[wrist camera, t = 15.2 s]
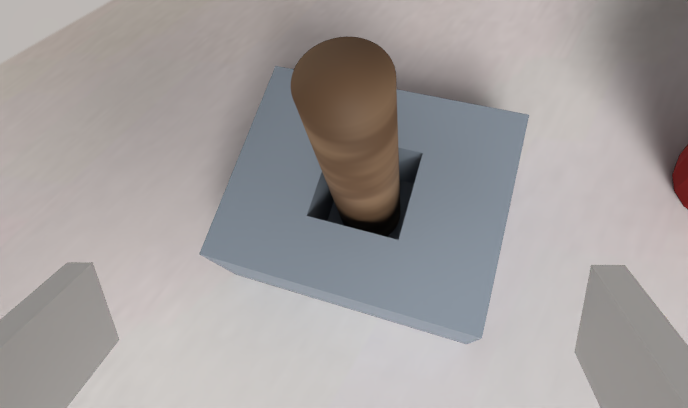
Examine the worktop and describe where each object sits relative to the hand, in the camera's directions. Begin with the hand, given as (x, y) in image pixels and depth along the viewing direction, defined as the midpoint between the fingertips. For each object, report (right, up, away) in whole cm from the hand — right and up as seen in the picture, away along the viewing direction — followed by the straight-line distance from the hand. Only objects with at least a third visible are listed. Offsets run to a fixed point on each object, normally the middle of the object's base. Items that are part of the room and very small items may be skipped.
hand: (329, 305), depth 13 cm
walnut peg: (+2, +2, +19) cm, 19 cm away
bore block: (+2, +2, +20) cm, 20 cm away
